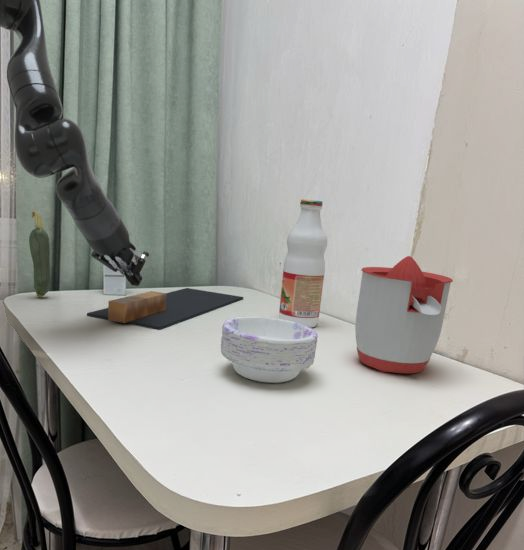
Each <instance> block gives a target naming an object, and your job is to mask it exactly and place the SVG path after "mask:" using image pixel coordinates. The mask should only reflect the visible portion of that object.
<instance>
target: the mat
mask: <svg viewBox="0 0 524 550" xmlns="http://www.w3.org/2000/svg"><path fill="white" fill-rule="evenodd" d="M165 293H166V310H165V311H162V312H159V313H155V314H152V315H149V316H146V317H142V318H139V319H136V320H133V321H129V322H126V323H125V324H128V325H132V326H139V327H144V328H149V329H155V330H158V331H159V330H163V329H165V328H168V327H171V326H174V325H177V324H180V323H182V322H185V321H187V320H190V319H192V318H196V317H199V316H202V315H203V314H206V313H209V312H212V311H214V310H217V309H220V308H222V307H226V306H228V305H232V304H234V303H237V302H239V301H242V300H244V296H239V295H233V294H227V293H221V292H214V291H209V290H204V289H203V290H202V289H196V288H189V287H185V288H181V289H177V290H173V291H169V292H165ZM86 316H87V317H91V318H97V319H103V320H107V321H109V320H108V307H105V308H102V309H98V310H93V311H90V312H86Z"/></svg>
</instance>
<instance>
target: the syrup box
mask: <svg viewBox="0 0 524 550" xmlns="http://www.w3.org/2000/svg"><path fill="white" fill-rule="evenodd" d="M109 263H110V262H109ZM102 280H103V281H102V284H103V285H102V287H103V288H102V289H103V290H102V291H103V295H106V296H107V295H109V296H126V294H127V278H126V277H125V275H123V274H121V273H120V272H119V271H118V270H117V272H114V271H113V270H111V269H110V268H108V267H107V266H105V265H104V264H102Z"/></svg>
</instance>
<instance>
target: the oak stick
mask: <svg viewBox="0 0 524 550" xmlns="http://www.w3.org/2000/svg"><path fill="white" fill-rule="evenodd" d="M166 293H167V292H160V291H154V290H150V291H146V292H141V293H137V294H133V295H128V296H124V297H120V298H115V299H112V300H111V299H110V300H108V305H107V308H108V320H107V321H111V322H117V323H122V324H127V323H126V322H129V321H133V320H136V319H139V318H142V317H146V316H149V315H152V314H155V313H159V312H162V311H165V310H166Z"/></svg>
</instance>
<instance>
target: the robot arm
mask: <svg viewBox="0 0 524 550" xmlns="http://www.w3.org/2000/svg"><path fill="white" fill-rule="evenodd" d="M0 28H3V29H5V30H8V31H11V32H13V33H15V34H16V36H17V37H18V39H19V44H18V46H17V47H16V49H15V50H14V51H13V53H12V55H11V56H10V58H9V60H8V63H7V67H6V79H7V85H8V88H9V91H10V95H11V98H12V101H13V104H14V108H15V125H14V147H15V148H14V149H15V153H16V157H17V159H18V161H19V164H20V165H21V167H22V168H23V169H24V170H25V172H27V173H28V174H29V175H31V176H32V177H34V178H37V179H38V178H39V179H45V178H48V177H52V176H54V175H56V174H58V173H59V174H60V173H62V172H63V171H67V170H68V171H67V172H66V173H65V174H63V175H62V176H61V177H60V178H59V179H58V181H57V182H56V185H55V192H56V195H57V197H58V199H59V200H60V201H61V203H62V205H63V206H64V207H65V209H66V210H67V212H68V213H69V215H70V216H71V218H72V221H73V222H74V224H75V226H76V227H77V229H78V230H79V232H80V233H81V235H82V236H83V237H84V239H85V241H86V242H87V243H88V245H89V247H90V248H91V249H92V253H91V254H90V257H92V258H93V259H95V260H96V261H98V262H100V263H101V264H102V265H103V264H104V265H105V266H107V267H108V268H110V269H111V270H113V271H114V272H117V270H118V271H119V272H120V273H121V274H123V275H125V277H126V281H128V282H129V284H130V285H131V286H136V287H139V286H140V284H141V283H142V281H143V276H142V274H141V271H142V269H143V268H144V265H145V264H146V262H147V260H148V258H149V256H150V254H149V252H148V251H143V252H140V251H138V250H137V248H136V246H135V245H134V244H133V243H132V242H131V240H130V233H129V230H128V229H127V227H126V225H125V223H124V221H123V220H122V218H121V217H120V215H119V213H118V211H117V210H116V207H115V206H114V205H113V203H112V202H111V201H110V199H109V198H108V196H107V195H106V193H105V192H104V190H103V188H102V187H101V185H100V183H99V181H98V179H97V177H96V175H95V173H94V170H93V167H92V163H91V159H90V154H89V149H88V144H87V141H86V137H85V135H84V132H83V131H82V129H81V128H80V126H79V125H78V124H77V123H75V122H74V121H73V120H71V119H69V118H65V117H63V113H64V109H63V104H62V101H61V100H62V99H61V98H60V94H59V91H58V89H57V86H56V83H55V80H54V77H53V73H52V70H51V67H50V63H49V58H48V50H47V41H46V32H45V24H44V18H43V11H42V5H41V0H0ZM62 117H63V118H62ZM69 169H70V170H69ZM109 262H110V263H109Z"/></svg>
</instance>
